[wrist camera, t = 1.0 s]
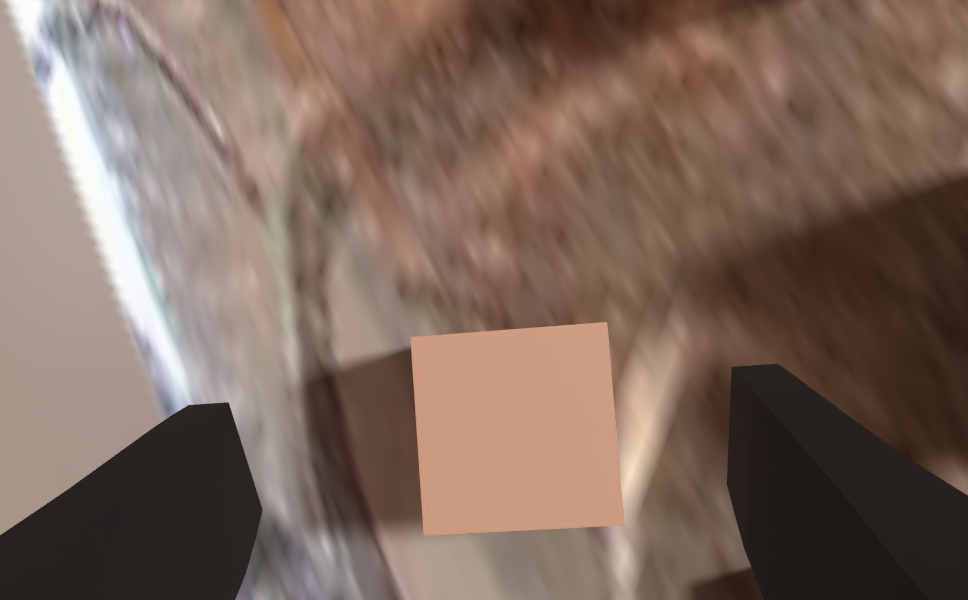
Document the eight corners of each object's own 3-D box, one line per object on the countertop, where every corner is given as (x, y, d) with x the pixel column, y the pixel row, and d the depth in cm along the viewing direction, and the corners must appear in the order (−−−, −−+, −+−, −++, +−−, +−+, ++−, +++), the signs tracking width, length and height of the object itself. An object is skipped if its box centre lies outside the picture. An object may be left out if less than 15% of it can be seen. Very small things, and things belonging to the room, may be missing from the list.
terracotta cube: (609, 487, 23) (624, 525, 18) (450, 496, 24) (423, 535, 19) (596, 327, 24) (606, 322, 19) (439, 339, 24) (410, 337, 19)
